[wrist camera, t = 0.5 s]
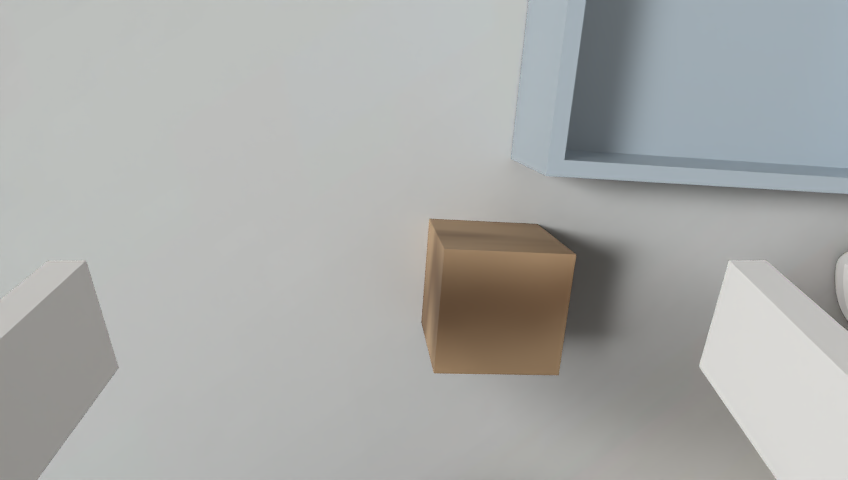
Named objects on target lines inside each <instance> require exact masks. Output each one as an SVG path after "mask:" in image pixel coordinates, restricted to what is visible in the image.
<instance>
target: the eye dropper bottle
mask: <svg viewBox="0 0 848 480" xmlns="http://www.w3.org/2000/svg"><path fill="white" fill-rule="evenodd" d="M835 288H836V295H837V300H838V303H839V306H840V309H841V311H842V313H843V315H844V317H845V318H846V320H847V321H848V251H847V252H846V253H844V254H843V255H842V256H841V257H839V259H838V261H837V263H836V269H835Z"/></svg>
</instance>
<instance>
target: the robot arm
mask: <svg viewBox="0 0 848 480" xmlns="http://www.w3.org/2000/svg"><path fill="white" fill-rule="evenodd" d="M699 367H700V369H701V370H702V372H703V373H704V375H705V376H706V378H707V379H708V380H709V382H710V383H711V385H712V386H713V388H714V389H715V391H716V392H717V394H718V395H719V396H720V398H721V399H722V401H723V402H724V404H725V405H726V407H727V408H728V410H729V411H730V413H731V414H732V415H733V417H734V418H735V420H736V421H737V423H738V424H739V426H740V427H741V429H742V430H743V431H744V433H745V434H746V436H747V437H748V439H749V440H750V442H751V443H752V445H753V446H754V448H755V449H756V450H757V452H758V453H759V455H760V456H761V458H762V459H763V461H764V462H765V464H766V465H767V466H768V468H769V469H770V471H771V472H772V474H773V475H774V477H775V478H776V480H848V331H847V330H846V329H845V328H843V327H842V326H841V325H840V324H839V323H838V322H837V321H835V320H834V319H833V318H832V317H831V316H830V315H829V314H827V313H826V312H825V311H824V310H823V309H822V308H820V307H819V306H818V305H817V304H816V303H815V302H814V301H812V300H811V299H810V298H809V297H808V296H807V295H806V294H804V293H803V292H802V291H801V290H800V289H799V288H798V287H796V286H795V285H794V284H793V283H792V282H791V281H789V280H788V279H787V278H786V277H785V276H784V275H783V274H781V273H780V272H779V271H778V270H777V269H776V268H775V267H773V266H772V265H771V264H770V263H769V262H768V261H767V260H729V262H728V266H727V269H726V273H725V276H724V280H723V283H722V287H721V290H720V294H719V297H718V301H717V304H716V308H715V312H714V315H713V319H712V322H711V326H710V329H709V333H708V336H707V340H706V343H705V347H704V350H703V354H702V357H701V361H700V364H699ZM117 369H118V364H117V361H116V358H115V354H114V351H113V348H112V344H111V341H110V338H109V335H108V331H107V328H106V325H105V321H104V318H103V315H102V311H101V308H100V305H99V302H98V298H97V295H96V292H95V288H94V285H93V282H92V278H91V275H90V272H89V269H88V265H87V262H86V260H62V261H47V262H46V263H44V264H43V265H42V266H41V267H40V268H38V269H37V270H36V271H35V272H33V273H32V274H31V275H30V276H29V277H27V278H26V279H25V280H24V281H22V282H21V283H20V284H19V285H18V286H16V287H15V288H14V289H13V290H12V291H10V292H9V293H8V294H7V295H5V296H4V297H3V298H2V299H1V300H0V480H37V479H38V478H39V477H40V475H41V474H42V472H43V471H44V470H45V468H46V467H47V466H48V464H49V463H50V461H51V460H52V459H53V457H54V456H55V455H56V453H57V452H58V450H59V449H60V448H61V446H62V445H63V444H64V442H65V441H66V440H67V438H68V437H69V435H70V434H71V433H72V431H73V430H74V429H75V427H76V426H77V424H78V423H79V422H80V420H81V419H82V418H83V416H84V415H85V413H86V412H87V411H88V409H89V408H90V407H91V405H92V404H93V402H94V401H95V400H96V398H97V397H98V396H99V394H100V393H101V391H102V390H103V389H104V387H105V386H106V385H107V383H108V382H109V380H110V379H111V378H112V376H113V375H114V374H115V372H116V371H117Z"/></svg>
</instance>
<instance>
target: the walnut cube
mask: <svg viewBox="0 0 848 480" xmlns="http://www.w3.org/2000/svg"><path fill="white" fill-rule="evenodd" d="M575 260H576V254H575V253H574V252H572V251H571V250H570V249H569V248H567V247H566V246H565V245H563V244H562V243H561V242H560V241H558V240H557V239H556V238H555V237H553V236H552V235H551V234H549V233H548V232H547V231H546V230H544V229H543V228H542V227H541V226H539V225H538V224H526V223H505V222H485V221H464V220H444V219H429V231H428V244H427V257H426V270H425V283H424V296H423V309H422V326H423V330H424V335H425V339H426V343H427V347H428V351H429V355H430V359H431V363H432V367H433V371H434V373H453V374H515V375H559V369H560V362H561V355H562V348H563V342H564V335H565V328H566V321H567V314H568V308H569V301H570V294H571V287H572V280H573V274H574V267H575Z"/></svg>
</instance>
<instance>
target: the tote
mask: <svg viewBox="0 0 848 480" xmlns="http://www.w3.org/2000/svg"><path fill="white" fill-rule="evenodd" d="M511 159H512V160H514V161H516V162H518V163H520V164H523V165H525V166H527V167H529V168H531V169H533V170H535V171H537V172H539V173H541V174H543V175H545V176H556V177H573V178H590V179H607V180H623V181H640V182H657V183H674V184H690V185H707V186H724V187H741V188H757V189H774V190H791V191H808V192H824V193H841V194H848V0H529V1H528V10H527V19H526V28H525V37H524V46H523V55H522V64H521V73H520V82H519V91H518V100H517V109H516V117H515V126H514V135H513V144H512V153H511Z"/></svg>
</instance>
